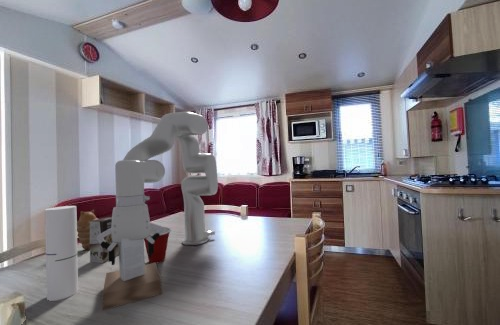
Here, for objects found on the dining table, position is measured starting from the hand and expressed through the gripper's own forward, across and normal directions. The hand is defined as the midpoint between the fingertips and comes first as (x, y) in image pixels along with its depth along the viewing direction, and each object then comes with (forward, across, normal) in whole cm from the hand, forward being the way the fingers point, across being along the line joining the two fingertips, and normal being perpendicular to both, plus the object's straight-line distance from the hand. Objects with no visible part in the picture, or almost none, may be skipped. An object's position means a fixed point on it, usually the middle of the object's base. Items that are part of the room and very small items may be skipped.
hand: (132, 259), depth 68 cm
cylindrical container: (+9, +18, -9) cm, 22 cm away
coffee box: (+9, +9, -35) cm, 37 cm away
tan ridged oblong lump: (+9, +17, -53) cm, 56 cm away
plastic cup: (+9, -9, -20) cm, 24 cm away
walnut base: (+9, 0, 0) cm, 9 cm away
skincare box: (+5, 0, 0) cm, 5 cm away
